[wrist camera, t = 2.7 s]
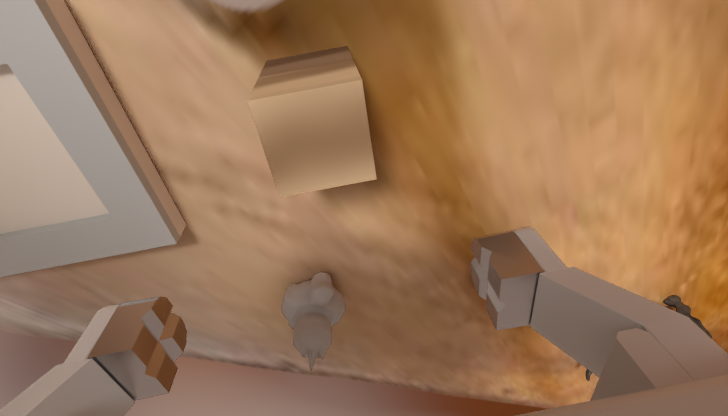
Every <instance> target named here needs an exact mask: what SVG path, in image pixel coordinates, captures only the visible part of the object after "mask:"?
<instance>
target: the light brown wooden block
mask: <svg viewBox="0 0 728 416" xmlns="http://www.w3.org/2000/svg"><path fill="white" fill-rule="evenodd" d="M247 102H248V105H249V108H250V111H251V114H252V116H253V119H254V122H255V125H256V128H257V131H258V134H259V137H260V140H261V143H262V146H263V149H264V152H265V155H266V158H267V161H268V164H269V167H270V170H271V173H272V176H273V179H274V182H275V185H276V187H277V190H278V193H279V196H280V198H281V197H286V196H291V195H297V194H302V193H307V192H312V191H318V190H323V189H328V188H333V187H339V186H344V185H349V184H354V183H360V182H365V181H370V180H376V179H377V178H376V171H375V165H374V158H373V151H372V144H371V137H370V131H369V124H368V117H367V110H366V103H365V97H364V90H363V83H362V79H361V76H360V74H359V72H358V70H357V67H356V65H355V63H354V60H353V58H352V56H351V54H350V51H349V49H348V47H347V46H344V47H339V48H333V49H328V50H323V51H317V52H312V53H306V54H301V55H295V56H290V57H284V58H279V59H274V60H268V61H266V63H265V66H264V68H263V70H262V72H261V74H260V76H259V78H258V80H257V82H256V84H255V86H254V88H253V90H252V92H251V94H250V97H249V99H248V101H247Z"/></svg>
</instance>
